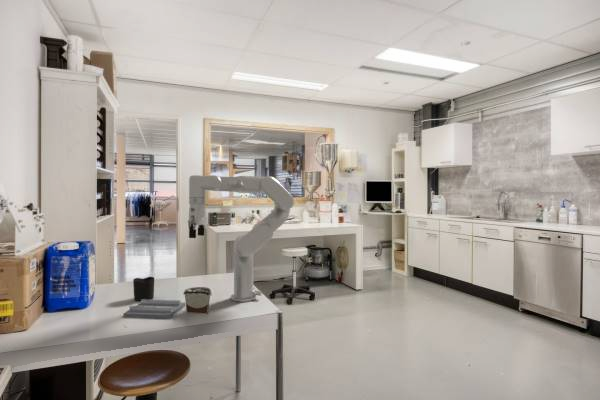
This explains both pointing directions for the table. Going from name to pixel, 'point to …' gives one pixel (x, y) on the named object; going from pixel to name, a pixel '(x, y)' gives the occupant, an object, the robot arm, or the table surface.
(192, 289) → the food container
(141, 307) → the rail plate
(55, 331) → the table surface
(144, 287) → the pen holder
